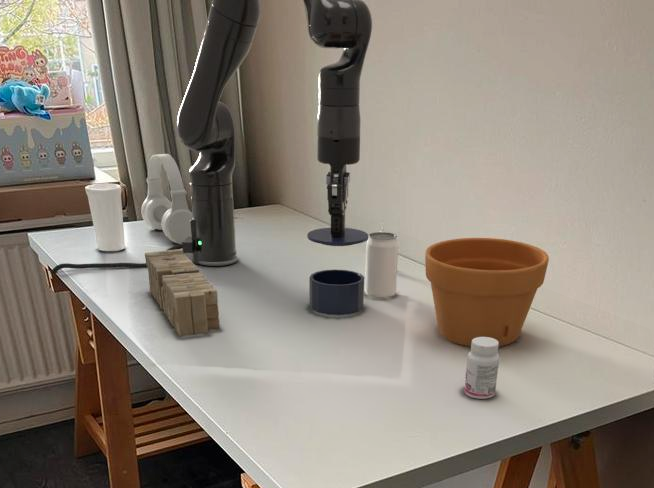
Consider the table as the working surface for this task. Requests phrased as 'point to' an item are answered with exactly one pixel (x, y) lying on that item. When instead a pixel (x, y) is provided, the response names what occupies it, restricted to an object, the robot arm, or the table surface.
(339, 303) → the pot
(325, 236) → the lid
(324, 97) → the robot arm
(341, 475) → the table surface
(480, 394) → the pill bottle
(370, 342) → the table surface
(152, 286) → the block tower
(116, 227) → the cup
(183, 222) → the headphones
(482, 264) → the flower pot
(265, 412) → the table surface
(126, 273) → the table surface
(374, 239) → the can
